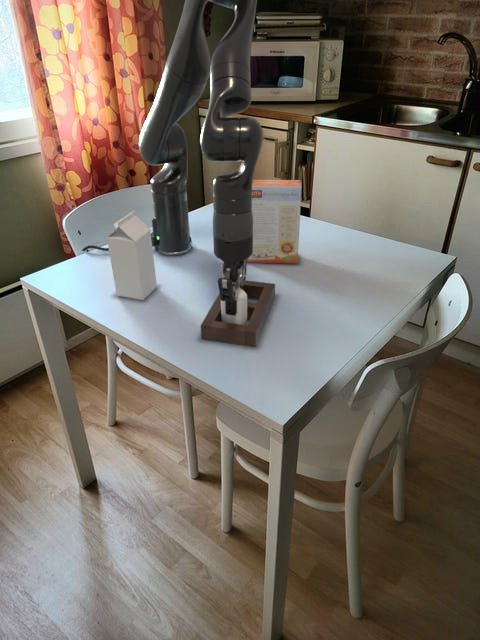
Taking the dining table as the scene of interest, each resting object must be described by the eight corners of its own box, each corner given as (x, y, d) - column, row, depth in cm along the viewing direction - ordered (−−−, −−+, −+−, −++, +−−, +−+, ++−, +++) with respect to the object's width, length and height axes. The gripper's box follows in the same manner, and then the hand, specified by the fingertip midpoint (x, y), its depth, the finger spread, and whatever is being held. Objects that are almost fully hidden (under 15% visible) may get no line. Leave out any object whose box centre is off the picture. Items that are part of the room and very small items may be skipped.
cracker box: (297, 255, 132) (302, 179, 121) (297, 264, 127) (302, 186, 116) (246, 253, 133) (246, 177, 122) (244, 263, 128) (244, 185, 117)
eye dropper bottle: (230, 332, 99) (229, 281, 92) (219, 319, 103) (217, 269, 96) (249, 327, 100) (249, 276, 94) (237, 314, 105) (237, 264, 98)
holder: (201, 339, 99) (200, 325, 97) (228, 291, 116) (227, 278, 114) (255, 347, 96) (255, 332, 94) (274, 296, 113) (275, 283, 111)
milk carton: (157, 287, 118) (148, 212, 107) (143, 301, 112) (132, 223, 102) (131, 282, 120) (120, 209, 109) (116, 296, 114) (103, 220, 104)
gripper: (224, 215, 97) (226, 289, 106) (202, 244, 85) (206, 324, 95) (260, 219, 95) (259, 293, 105) (243, 248, 84) (243, 329, 93)
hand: (234, 308), depth 100 cm, fingers closed on eye dropper bottle, 4 cm apart
